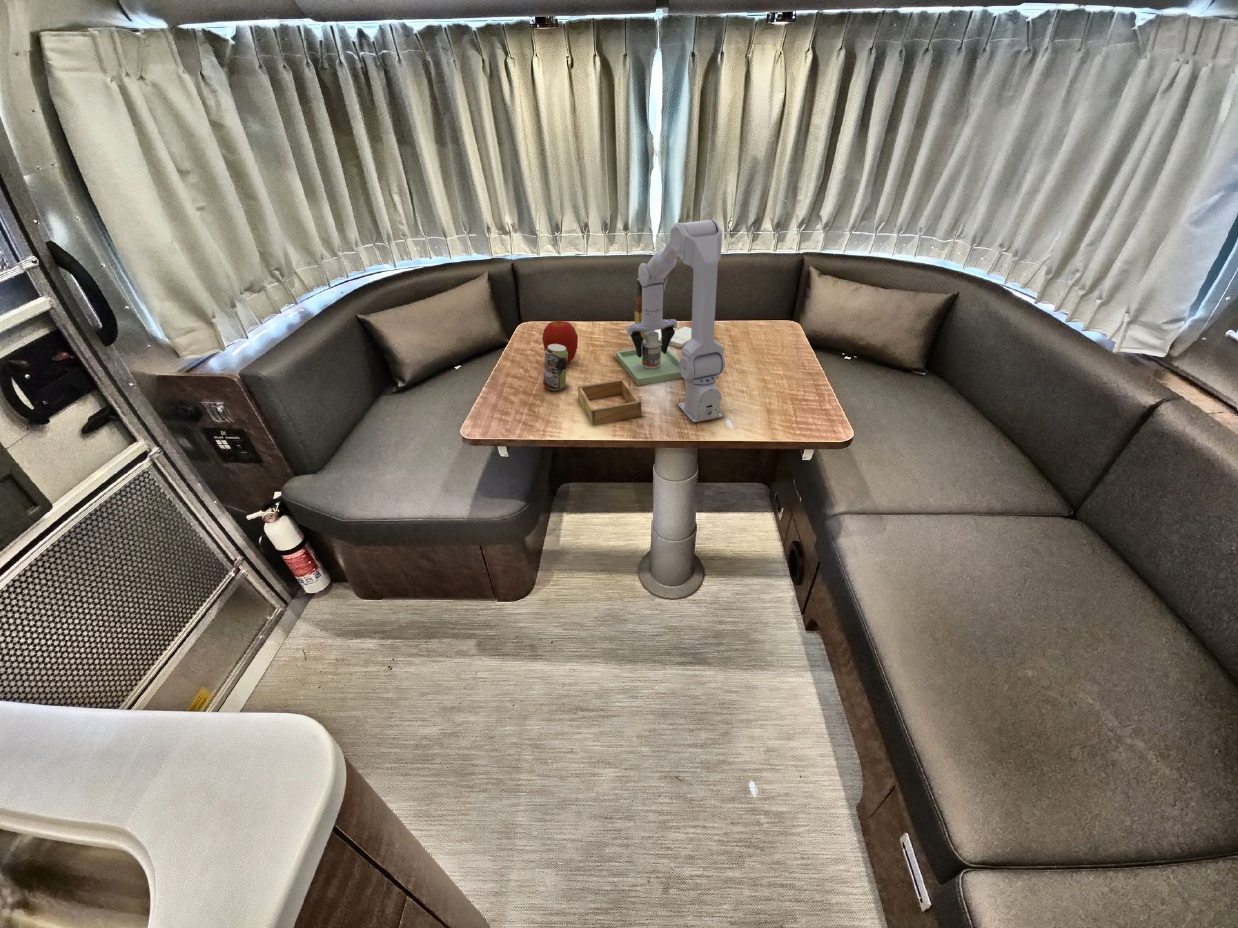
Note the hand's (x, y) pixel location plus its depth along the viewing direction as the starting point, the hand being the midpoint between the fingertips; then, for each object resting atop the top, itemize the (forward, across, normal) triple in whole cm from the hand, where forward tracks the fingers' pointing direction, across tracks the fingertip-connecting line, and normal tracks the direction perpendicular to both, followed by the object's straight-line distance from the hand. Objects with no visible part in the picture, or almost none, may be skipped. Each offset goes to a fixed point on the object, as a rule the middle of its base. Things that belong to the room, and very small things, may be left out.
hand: (651, 354), depth 154 cm
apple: (+4, +24, -12) cm, 27 cm away
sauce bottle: (+4, -5, -19) cm, 20 cm away
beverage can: (+4, +29, +3) cm, 29 cm away
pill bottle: (+4, 0, 0) cm, 4 cm away
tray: (+4, 0, 0) cm, 4 cm away
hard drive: (+4, -17, -16) cm, 24 cm away
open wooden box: (+4, +19, +19) cm, 27 cm away
